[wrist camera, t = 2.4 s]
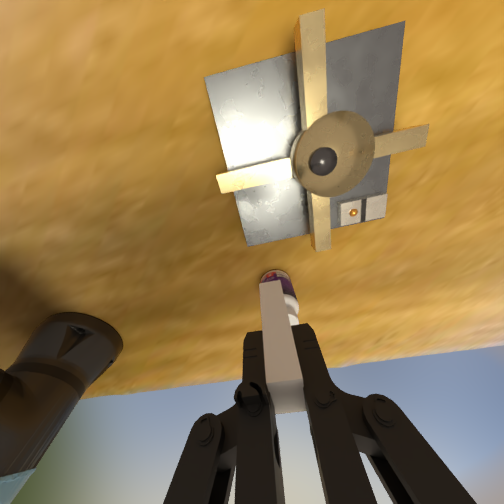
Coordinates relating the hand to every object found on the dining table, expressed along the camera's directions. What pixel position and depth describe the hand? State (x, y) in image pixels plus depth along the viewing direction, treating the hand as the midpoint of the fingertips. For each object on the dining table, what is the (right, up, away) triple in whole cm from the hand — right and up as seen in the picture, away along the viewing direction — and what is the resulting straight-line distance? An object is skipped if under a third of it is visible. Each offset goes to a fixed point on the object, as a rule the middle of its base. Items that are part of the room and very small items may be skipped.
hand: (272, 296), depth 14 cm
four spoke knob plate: (+6, +14, +9) cm, 18 cm away
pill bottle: (+3, -2, +21) cm, 21 cm away
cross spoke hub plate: (+5, +16, +12) cm, 20 cm away
